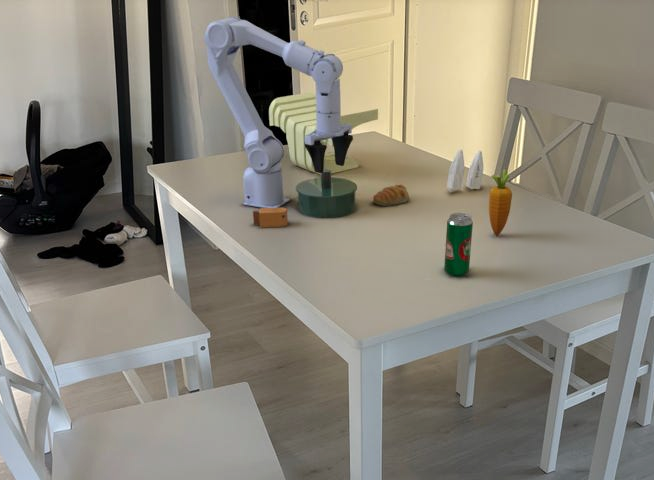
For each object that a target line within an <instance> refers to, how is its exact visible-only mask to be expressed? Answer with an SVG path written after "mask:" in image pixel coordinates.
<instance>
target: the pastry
mask: <svg viewBox="0 0 654 480" xmlns="http://www.w3.org/2000/svg"><path fill="white" fill-rule="evenodd" d="M372 199H373V200H372V203H374V204H376V205H380V206H383V207H388V206H394V205H401V204H405V203H407V202H408V201H409V200H410V195H409V192H408V190H407V187H406V186H405V185H403V184H395V185H390V186H386V187H383V188H382V190H380V191H378V192H377V193H375V194H374V195H373V197H372Z"/></svg>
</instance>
